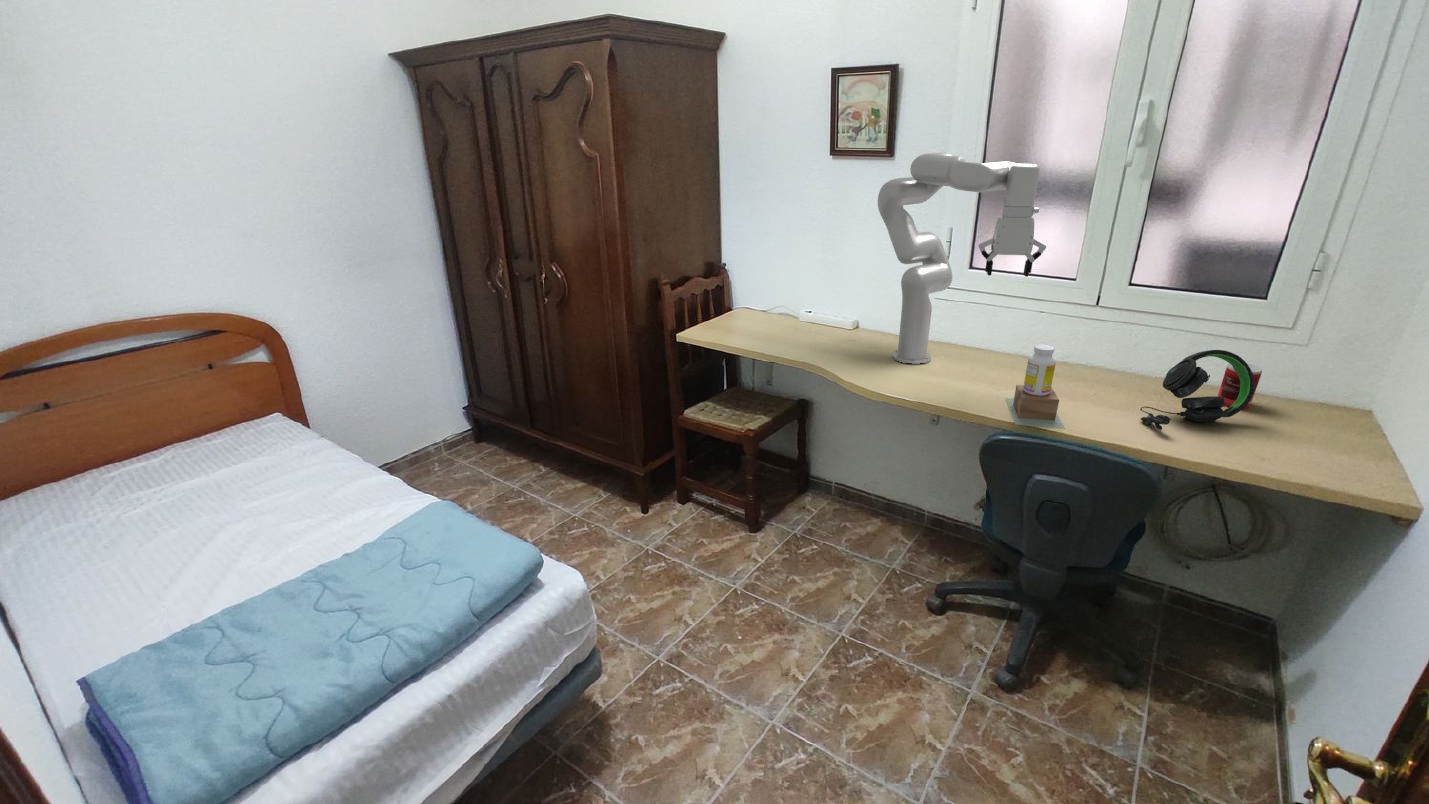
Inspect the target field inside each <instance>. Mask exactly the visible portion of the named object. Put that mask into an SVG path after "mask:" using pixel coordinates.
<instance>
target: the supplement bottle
mask: <svg viewBox="0 0 1429 804" xmlns="http://www.w3.org/2000/svg"><path fill="white" fill-rule="evenodd" d="M1054 351H1055V347H1054V346H1052V345H1047V344H1036V345H1034V347H1033V352H1034V353H1032V354H1031V355H1029V357H1028V359H1027V365H1026V370H1025V377H1024V382H1023V385H1024V387H1023V389H1024V391H1025V392H1026V393H1028V394H1031V395H1036V396H1045V395H1048V394H1049V393H1050V390H1051V387H1052V385H1053V378H1054V374H1055V368H1056V365H1057V359H1056V357H1054V356H1053V354H1054V353H1055V352H1054Z"/></svg>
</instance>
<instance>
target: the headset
mask: <svg viewBox="0 0 1429 804" xmlns="http://www.w3.org/2000/svg"><path fill="white" fill-rule="evenodd" d="M1208 357H1212V358H1213V357H1214V358H1215V357H1216V358H1218V359H1221V360H1222V361H1225V362H1227V363H1228V364H1229V363H1230V364H1231V365H1232V366H1233V368H1234V370H1235V371H1236V373H1237V375H1239V378H1240V393H1239V396H1238V398H1237V400H1236V401H1235V402H1234V403H1233V404H1232V405H1231V406H1230V407H1227V408H1226V409H1224V410H1223V407H1226V406H1225V405H1224V404H1225V400H1224V398H1223V397H1217V396H1218V395H1217V396H1211V395H1210V396H1196V397H1195V396H1194V397H1189V396H1191V395H1193V394H1194V393H1195V392H1197V391H1198V390H1199V389H1200V388H1201V387H1202V386H1203V385H1204V383H1205V384H1207V382H1208V381H1209V379H1210V378H1211V377H1210V376H1211V375H1210V374H1208V372H1207V371H1206V370H1205V369H1203V368H1202V367H1201V366H1197V362H1196V361H1198V360H1201V359H1203V358H1208ZM1248 364H1249V363H1248ZM1248 364H1247V362H1246V361H1245V360H1244V359H1243V357H1240V356H1239V355H1238V354H1236V353H1233V352H1232V351H1228V350H1223V349H1210V350H1204V351H1199V352H1196V353H1193V354H1191V355H1188V356H1187V357H1185V358H1183V359H1182V360H1181V361H1179V362H1178V363H1176V364H1175V365H1174V366H1173V367H1171V368H1170V369H1169V370H1168V371H1167V373H1166V375H1165V377H1164V378H1163V381H1162V388H1164V389H1165V390H1166V391H1170V393H1172V395H1173V396H1174V397H1176V398H1179V399H1181V401H1180V402H1181V408H1182V409H1185V410H1184V411H1180V412H1170V411H1163V410H1160V409H1157V408H1155V407H1151V406H1141V407H1140V411H1141V412H1143V413H1146V414H1147V416H1143V417H1140V420H1141V421H1142V422H1143V423H1144V424H1145V425H1147V426H1150V425H1152V424H1154V426H1155V427H1156V429H1158V430H1159V431H1162V430H1163V426H1162V425H1164V426H1165V425H1168V424H1169V423H1170V421H1171V420H1172V418H1170V417H1169V416H1167V415H1165V414H1170V415H1177V416H1180V417H1185V418H1186V419H1188V420H1190V421H1193V422H1195V423H1212V422H1216V421H1217V420H1219V419H1221V418H1231V417H1233V416H1235V415H1236V414H1238V413H1239V412H1241V411H1242V410H1245V409H1246V408H1245V407H1246V406H1247V404H1248V403H1249V402H1250V400H1251V398H1252V396H1253V394H1254V389H1255V380H1254V376H1253V373H1252V371H1251V369H1250V367H1249V366H1248ZM1254 395H1255V394H1254ZM1143 408H1145V409H1152V410H1154V411H1157V412H1160V413H1163V414H1164V413H1165V414H1164V415H1163V414H1158V415H1156V416H1155V415H1154V414H1153V413H1151V412H1147V411H1144V410H1143ZM1244 408H1245V409H1244Z"/></svg>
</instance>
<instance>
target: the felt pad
mask: <svg viewBox="0 0 1429 804" xmlns="http://www.w3.org/2000/svg"><path fill="white" fill-rule="evenodd" d="M1004 399H1005V402H1006V404H1007V407H1008V409H1009V410H1008V411H1009V412H1010V415H1011V418H1012V419H1013V422H1014V424H1015V426H1027V427H1040V428H1055V429H1066V426H1064V424H1063V422H1062V420H1061V418H1060V417H1059V415H1058V413H1056V418H1055V421H1054V420H1040V419H1027V418H1019V417H1018V415H1017V413H1016V410H1015V408H1014V406H1013V402H1014V398H1013V397H1012V398H1011V397H1005V398H1004Z"/></svg>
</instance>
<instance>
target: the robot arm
mask: <svg viewBox="0 0 1429 804" xmlns="http://www.w3.org/2000/svg"><path fill="white" fill-rule="evenodd" d="M1040 171H1041V170H1040V166H1039V165H1038V164H1036V163H1016V162H1013V161H997V162H996V161H995V162H984V163H983V162H967V161H966V159H965V158H964V157H962V156H959V155H952V154H950V153H947V152H932V153H930V152H929V153H924V154H921V155H918V156H917V157H916V158H915V159H913V161H912V162H911V164H910V174H911V176H909V177H906V176H905V177H898V178H893V179H890V180H888V181H886V182H885V183H884V184H883V185H882V186H881V188H880V190H879V191H878V195H877V208H878V212H879V214H880V217H881V219H882V220H883V223H884V225H885V227H886V229H887V233H888V236H889V237H890V238H889V239H890V242H891V244H892V247H893V251H894V252H895V256H896V258H897V260H898V261H899V262H900V263H901V264H903V265H912V264H913V265H914V264H919V263H920V264H921V265H915V266H912V267H910V268H908V269H906V270H905V271H904V273H903V274H902V276H901V281H900V287H901V288H900V289H901V296H902V297H901V298H902V300H901V302H902V303H901V304H902V305H901V313H900V323H899V334H898V344H897V350H896V351H894V352H892V359H893V360H895V361H896V362H898V361H899V363H901V362H902V363H903V364H906V363H912V364H911V365H921V364H920V363H924V364H927V363H929V362H931V360H932V356H931V354H930V353H928V344H929V336H930V327H931V320H932V319H931V318H932V312H933V311H932V309H933V308H932V302H931V299H930V295H931V294H934V293H938V292H943V291H945V290H947V289H948V288H949V287H950V286H951V284H952V281H953V272H952V268H951V264H950V262H949V258H948V257H947V254H946V250H945V247H944V245H943V243H942V240H941V239H940V238H939V236H938V235H936V234H935V233H933V232H930V231H924V232H919V231H918V229H917V227H916V225H915V222H914V219H913V217H912V215H911V214H910V213H909V212H908V211H907V210H906V209H905V208H904V206H908V205H909V206H910V205H915V204H916V205H917V204H922V203H924V202H927V201H928V200H930V199H931V198H932V197H934V195H935V194H936V193H937V192H938V191H939V190H941V189H942V188H943V187H944V186H945V187H950V188H953V189H955V190H958V191H965V192H966V191H967V192H971V193H989V192H999V191H1005V193H1004V198H1003V206H1002V213H1001V216H998V217H997V219H996V223H995V226H994V231H993V235H992V238H990V239H987V240H985V241H983V242H980V243H978V244H977V245H978V249H979V251H980V254H981V255H982V256H983V257H984V259H985V260H986V263H985V271H984V272H986V274H987V275H988V276H991V275H992V272H993V265H994V261H993V259H995V257H997V255H998V256H999V255H1000V256H1025V257H1026V258H1027V259H1026V260H1025V263H1024V269H1023V272H1022V273H1023V276H1025V277H1026V278H1027V277H1029V274H1031V273H1032V268H1033V263H1034V262H1035V261H1036V260H1037V259H1038V258H1040V257H1041V256H1042V254H1043V253H1044V252H1045V250H1046V249H1047V246H1046V245H1045V244H1044V243H1042V242H1040V241H1038V240H1037V239H1035V238H1034V236H1035V218H1034V214H1039V211H1040V208H1039V207H1035V200H1036V194H1037V189H1038V183H1039V177H1040ZM990 245H991V246H990ZM989 246H990V250H991V251H990V252H989V253H988V252H987V250H986V247H989ZM1033 246H1035V247H1037V248H1038V249H1037V250H1036V251H1035V252H1034V253H1032V251H1033V248H1034V247H1033ZM1031 253H1032V254H1031Z"/></svg>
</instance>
